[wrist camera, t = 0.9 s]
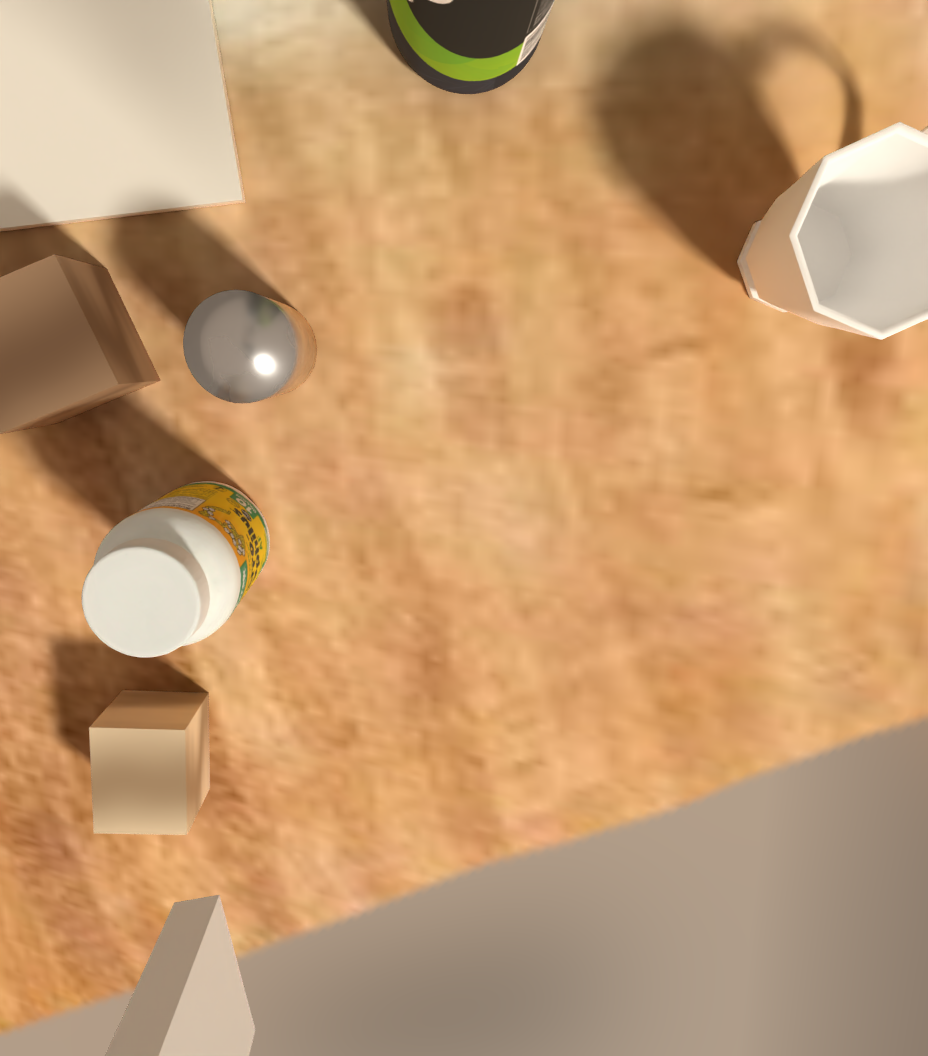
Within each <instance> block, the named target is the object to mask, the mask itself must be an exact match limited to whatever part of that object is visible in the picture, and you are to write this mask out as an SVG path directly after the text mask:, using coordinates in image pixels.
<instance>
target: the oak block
mask: <svg viewBox="0 0 928 1056" xmlns="http://www.w3.org/2000/svg"><path fill="white" fill-rule="evenodd" d="M89 736H90V759H91V781H92V803H93V826H94V833H110V834H162V835H187V834H188V832H189V830H190V828H191V826H192V824H193V822H194V820H195V818H196V816H197V814H198V812H199V809H200V807H201V805H202V803H203V801H204V799H205V797H206V795H207V793H208V791H209V789H210V758H209V693H203V692H171V691H140V690H122V691H121V692H120V693H119V695H118V696H117V697H116V698H115V699H114V700H113V701H112V702H111V703H110V705H109V706H108V707H107V708H106V709H105V710H104V711H103V712H102V714H101V715H100V716H99V717H98V718H97V719H96V720H95V721H94V723H93V724H92V725H91V726H90V727H89Z"/></svg>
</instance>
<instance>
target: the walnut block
mask: <svg viewBox="0 0 928 1056" xmlns="http://www.w3.org/2000/svg"><path fill="white" fill-rule="evenodd" d="M158 381H160V378H159V376H158V374H157V372H156V370H155V368H154V366H153V364H152V362H151V360H150V358H149V355H148V353H147V351H146V349H145V347H144V345H143V343H142V341H141V339H140V337H139V335H138V333H137V331H136V328H135V326H134V324H133V322H132V320H131V318H130V316H129V314H128V312H127V310H126V308H125V306H124V303H123V301H122V299H121V297H120V295H119V293H118V291H117V289H116V287H115V285H114V283H113V281H112V278H111V276H110V274H109V272H108V270H107V269H106V268H103V267H99V266H95V265H92V264H88V263H85V262H81V261H77V260H74V259H70V258H67V257H63V256H59V255H56V254H54V255H51V256H49V257H47V258H44V259H42V260H39V261H37V262H35V263H32V264H30V265H28V266H25V267H23V268H21V269H18V270H16V271H13V272H11V273H9V274H6V275H4V276H2V277H0V434H3V433H8V432H14V431H19V430H25V429H30V428H36V427H41V426H46V425H52V424H57V423H59V422H61V421H64V420H66V419H69V418H71V417H73V416H76V415H78V414H81V413H83V412H86V411H88V410H90V409H93V408H95V407H98V406H100V405H102V404H105V403H107V402H110V401H112V400H114V399H117V398H119V397H122V396H124V395H126V394H129V393H131V392H134V391H136V390H139V389H141V388H143V387H146V386H148V385H151V384H153V383H155V382H158Z"/></svg>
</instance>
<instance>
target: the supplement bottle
mask: <svg viewBox="0 0 928 1056" xmlns="http://www.w3.org/2000/svg"><path fill="white" fill-rule="evenodd" d="M269 550H270V536H269V530H268V526H267V523H266V520H265V518H264V516H263V514H262V512H261V511H260V510H259V508H258V507H257V506H256V505H255V504H254V503H253V502H252V501H251V500H250V499H249V498H248V497H247V496H246V495H245V494H243V493H242V492H241V491H239V490H238V489H236V488H234V487H232V486H230V485H227V484H224V483H220V482H213V481H201V482H194V483H190V484H187V485H184V486H181V487H179V488H177V489H175V490H173V491H171V492H169V493H168V494H166V495H164V496H163V497H161V498H159V499H158V500H156V501H154V502H153V503H151V504H149V505H147V506H145V507H144V508H142V509H141V510H139V511H137V512H135V513H134V514H132V515H130V516H129V517H127V518H125V519H124V520H122V521H121V522H120V523H118V524H117V525H116V526H115V527H114V528H113V529H112V530H111V531H110V532H109V533H108V534H107V535H106V537H105V538H104V539H103V541H102V543H101V545H100V546H99V549H98V551H97V553H96V557H95V560H94V565H93V567H92V568H91V570H90V571H89V573H88V574H87V577H86V579H85V582H84V585H83V590H82V606H83V611H84V615H85V618H86V620H87V622H88V624H89V626H90V628H91V629H92V631H93V632H94V633H95V634H96V636H97V637H98V638H99V639H100V640H101V641H102V642H104V643H105V644H106V645H108V646H109V647H111V648H112V649H114V650H116V651H118V652H121V653H123V654H126V655H130V656H134V657H157V656H161V655H164V654H168V653H170V652H172V651H174V650H175V649H177V648H179V647H180V646H185V645H189V644H193V643H196V642H198V641H200V640H202V639H204V638H206V637H208V636H210V635H211V634H213V633H214V632H215V631H216V630H218V629H219V628H220V627H221V626H222V625H223V624H224V623H225V622H226V621H227V620H228V619H229V617H230V616H231V614H232V613H233V611H234V609H235V608H236V607H237V605H238V604H239V602H240V601H241V599H242V598H243V597H244V595H245V594H246V593H247V591H248V590H249V588H250V587H251V586H252V584H253V583H254V581H255V580H256V579H257V577H258V576H259V574H260V572H261V571H262V569H263V567H264V565H265V563H266V561H267V559H268V555H269Z"/></svg>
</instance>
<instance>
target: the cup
mask: <svg viewBox="0 0 928 1056" xmlns="http://www.w3.org/2000/svg"><path fill="white" fill-rule="evenodd" d="M737 263H738V266H739V269H740V272H741V275H742V278H743V281H744V283H745V286H746V289H747V292H748V295H749V298H750V299H753V300H755V301H758V302H760V303H762V304H765V305H767V306H769V307H772V308H774V309H776V310H779V311H781V312H790V313H793V314H795V315H797V316H800V317H802V318H804V319H807V320H809V321H811V322H814V323H816V324H819V325H824V326H828V327H832V328H837V329H841V330H846V331H849V332H853V333H857V334H860V335H864V336H868V337H873V338H877V339H881V340H882V339H884V338H886V337H888V336H890V335H893V334H895V333H897V332H899V331H902V330H904V329H906V328H908V327H911V326H913V325H915V324H917V323H920V322H922V321H924V320H926V319H928V126H927V127H925V128H924V129H923V130H921V131H918V130H916V129H914V128H912V127H910V126H908V125H905V124H903V123H901V122H898V123H896V124H894V125H892V126H889V127H887V128H885V129H883V130H881V131H879V132H876V133H874V134H872V135H870V136H868V137H865V138H863V139H861V140H859V141H857V142H854V143H852V144H850V145H848V146H846V147H844V148H841V149H839V150H837V151H835V152H833V153H830V154H828V155H826V156H824V157H823V158H822V159H821V160H819V161H818V162H817V163H816V164H815V165H814V166H812V167H811V168H810V169H809V170H808V171H807V172H806V173H805V174H804V175H803V176H802V177H801V178H800V179H799V180H798V181H796V182H795V183H794V184H793V185H792V186H791V187H789V188H788V189H787V190H786V191H785V192H784V193H782V194H781V195H780V196H779V197H778V198H777V199H776V200H775V201H774V203H773V204H772V206H771V207H770V208H769V210H768V211H767V213H766V214H765V216H764V217H763V219H762V220H760V221H758V222H756V223H753V225H752V228H751V230H750V232H749V235H748V237H747V239H746V242H745V244H744V246H743V249H742V251H741V253H740V255H739V258H738V260H737Z"/></svg>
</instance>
